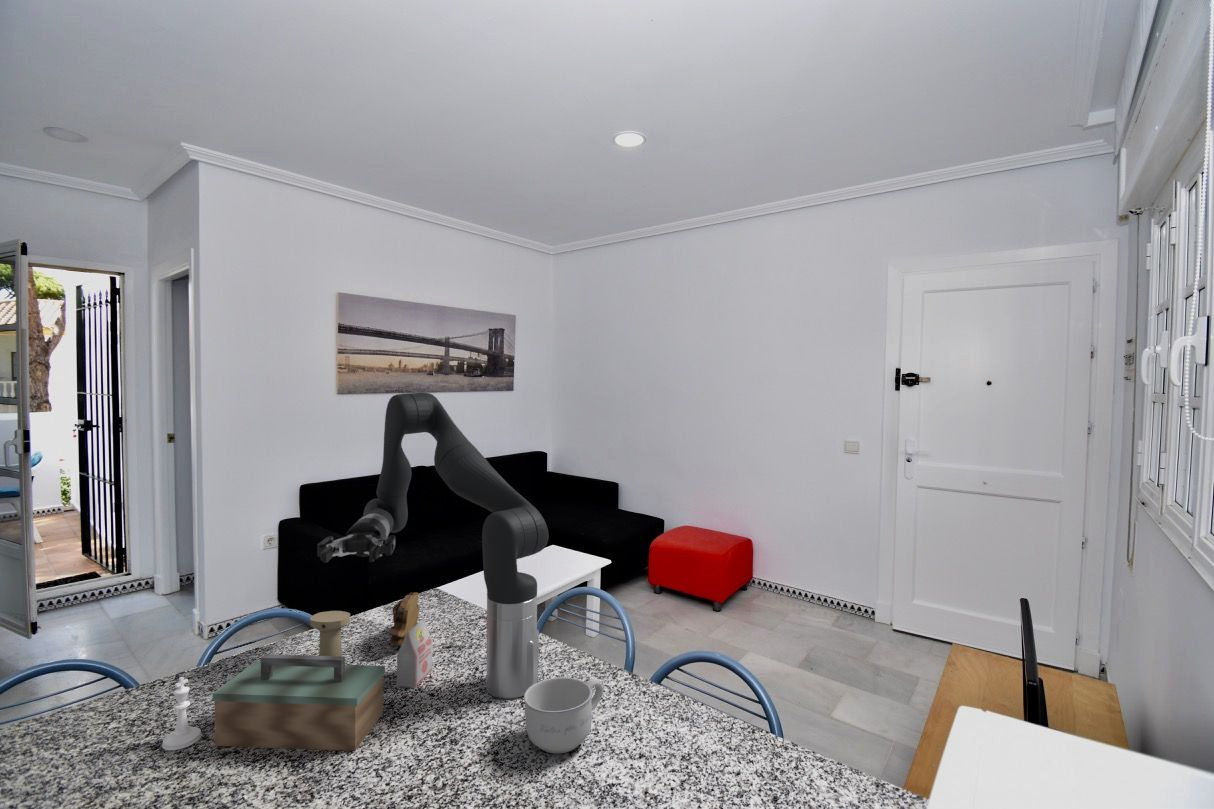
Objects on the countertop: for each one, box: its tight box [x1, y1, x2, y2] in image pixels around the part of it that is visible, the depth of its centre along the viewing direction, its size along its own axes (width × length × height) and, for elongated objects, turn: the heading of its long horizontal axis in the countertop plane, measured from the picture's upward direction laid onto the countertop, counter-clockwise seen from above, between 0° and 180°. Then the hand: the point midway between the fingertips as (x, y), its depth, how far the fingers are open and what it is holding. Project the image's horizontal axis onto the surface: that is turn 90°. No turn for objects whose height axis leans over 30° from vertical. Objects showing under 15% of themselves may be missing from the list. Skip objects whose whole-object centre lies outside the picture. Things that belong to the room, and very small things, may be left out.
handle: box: [309, 610, 351, 657], centre depth 100 cm, size 5×6×15 cm
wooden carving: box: [389, 592, 421, 647], centre depth 124 cm, size 16×5×10 cm, turn 10°
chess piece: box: [161, 676, 202, 751], centre depth 88 cm, size 5×5×10 cm
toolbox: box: [212, 653, 386, 752], centre depth 96 cm, size 23×18×12 cm
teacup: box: [523, 676, 604, 755], centre depth 90 cm, size 14×11×8 cm
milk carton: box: [396, 618, 433, 689], centre depth 108 cm, size 4×7×10 cm, turn 171°
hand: (348, 557), depth 110 cm, fingers open, 8 cm apart
